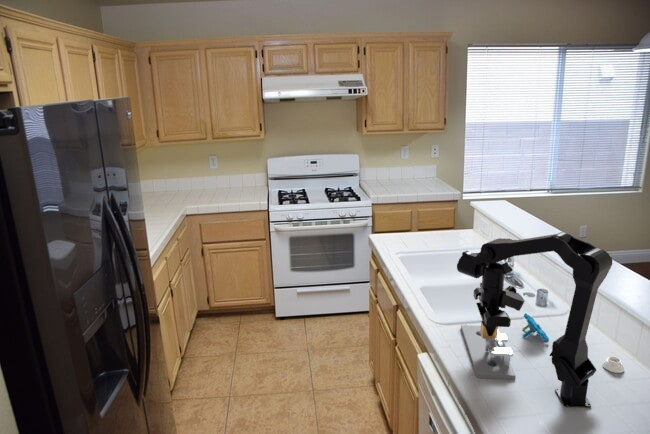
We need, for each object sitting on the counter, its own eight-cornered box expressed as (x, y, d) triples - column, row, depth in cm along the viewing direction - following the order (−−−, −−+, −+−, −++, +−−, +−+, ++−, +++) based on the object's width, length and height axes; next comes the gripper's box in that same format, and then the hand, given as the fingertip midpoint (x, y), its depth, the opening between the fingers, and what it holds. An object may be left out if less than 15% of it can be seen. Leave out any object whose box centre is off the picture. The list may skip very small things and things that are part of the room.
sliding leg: (506, 353, 133) (508, 326, 130) (481, 352, 134) (483, 326, 131) (503, 347, 136) (506, 321, 133) (479, 347, 137) (481, 320, 134)
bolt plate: (515, 379, 124) (515, 375, 124) (477, 377, 126) (477, 373, 125) (492, 329, 149) (492, 325, 149) (460, 328, 150) (461, 324, 150)
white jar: (598, 364, 130) (612, 375, 125) (599, 355, 129) (613, 365, 124) (613, 362, 131) (628, 372, 126) (615, 353, 130) (629, 363, 125)
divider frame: (512, 367, 127) (513, 353, 126) (489, 366, 128) (490, 353, 127) (493, 327, 148) (494, 314, 147) (474, 326, 149) (474, 314, 148)
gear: (554, 344, 137) (530, 319, 138) (537, 355, 139) (514, 330, 140) (546, 329, 148) (524, 306, 148) (531, 340, 149) (509, 317, 150)
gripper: (533, 299, 119) (527, 352, 124) (513, 270, 137) (509, 317, 141) (488, 298, 120) (484, 350, 125) (474, 269, 138) (471, 316, 143)
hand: (488, 332), depth 133 cm, fingers closed on sliding leg, 3 cm apart
